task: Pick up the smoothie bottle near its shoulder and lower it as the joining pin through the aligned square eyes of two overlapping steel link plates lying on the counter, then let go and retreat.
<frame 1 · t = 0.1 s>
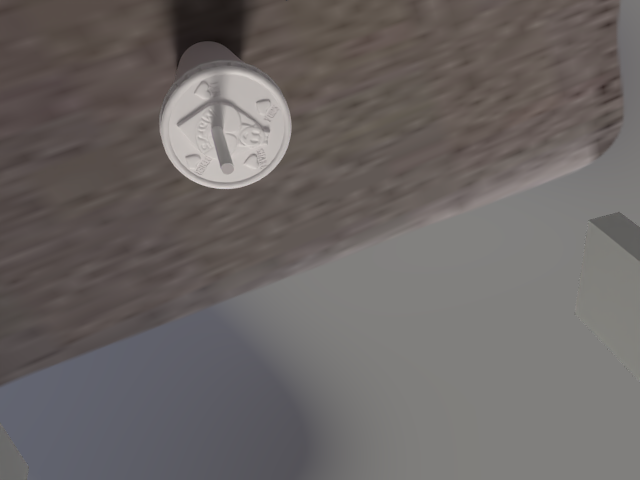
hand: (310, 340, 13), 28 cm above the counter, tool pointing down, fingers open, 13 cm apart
smoothie: (208, 70, 37), on the counter
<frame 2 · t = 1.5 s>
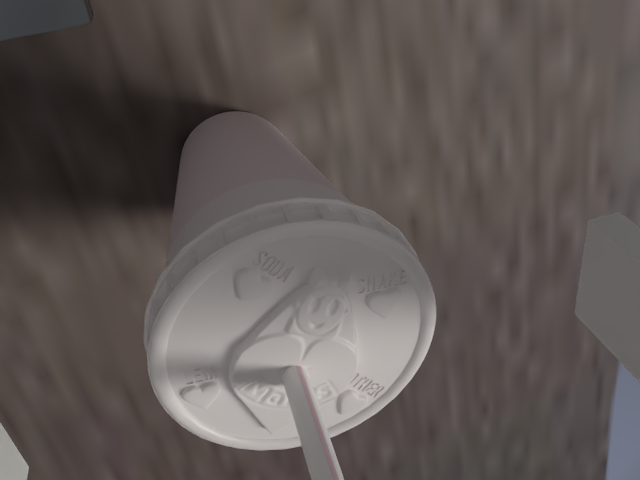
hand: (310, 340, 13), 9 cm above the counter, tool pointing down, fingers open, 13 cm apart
smoothie: (234, 160, 21), on the counter
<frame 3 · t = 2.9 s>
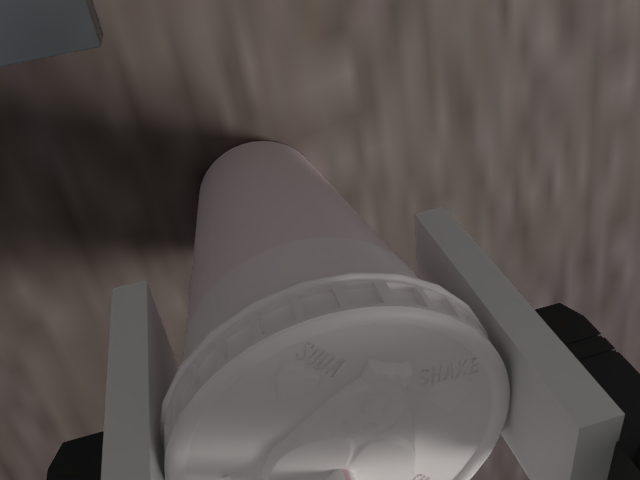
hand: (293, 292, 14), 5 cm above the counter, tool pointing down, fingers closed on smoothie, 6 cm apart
smoothie: (259, 193, 19), on the counter, touching gripper
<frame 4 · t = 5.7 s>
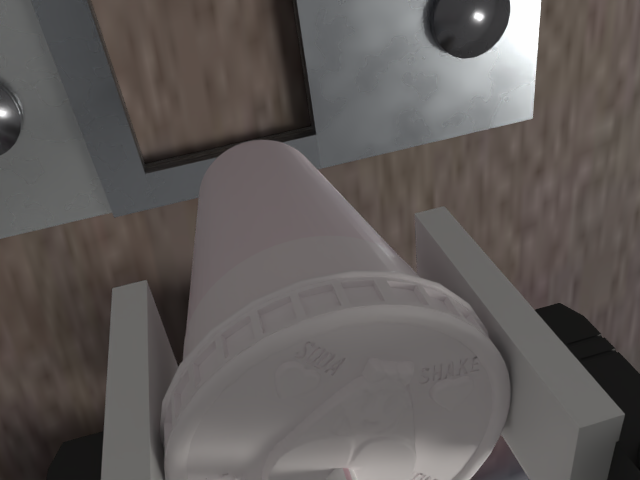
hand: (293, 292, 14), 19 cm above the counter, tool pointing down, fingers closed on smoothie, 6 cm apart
link plate 1: (209, 61, 30), on the counter
link plate 2: (209, 61, 30), resting in link plate 1
smoothie: (259, 192, 19), point 14 cm above the counter, touching gripper
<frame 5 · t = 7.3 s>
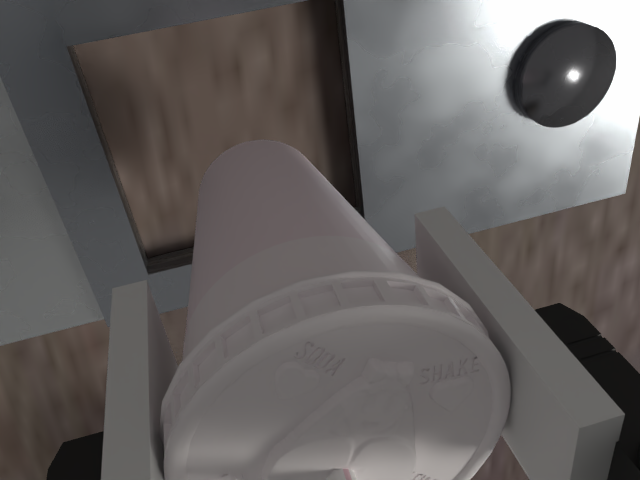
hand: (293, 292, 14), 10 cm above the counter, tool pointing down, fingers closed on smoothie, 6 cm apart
link plate 1: (232, 133, 23), on the counter
link plate 2: (232, 133, 23), resting in link plate 1
smoothie: (258, 192, 19), point 5 cm above the counter, touching gripper
when the fingers open (7 cm above the counter, at t = 8.7 s): smoothie drops 2 cm, resting in link plate 2.
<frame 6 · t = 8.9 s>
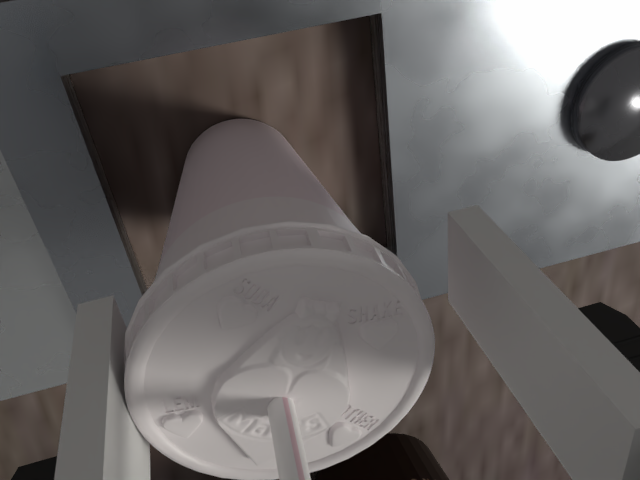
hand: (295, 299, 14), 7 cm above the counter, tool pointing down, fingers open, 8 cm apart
link plate 1: (250, 169, 20), on the counter
link plate 2: (250, 169, 20), resting in link plate 1
smoothie: (240, 168, 20), resting in link plate 2, touching gripper
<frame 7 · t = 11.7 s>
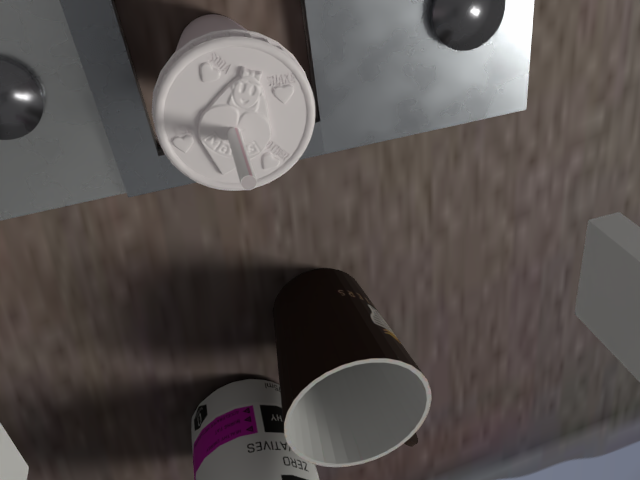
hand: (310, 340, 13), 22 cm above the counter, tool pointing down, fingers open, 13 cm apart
link plate 1: (221, 50, 31), on the counter
supplement can: (244, 410, 46), on the counter
link plate 2: (221, 50, 31), resting in link plate 1
coffee mug: (322, 319, 43), on the counter
smoothie: (214, 50, 32), resting in link plate 2
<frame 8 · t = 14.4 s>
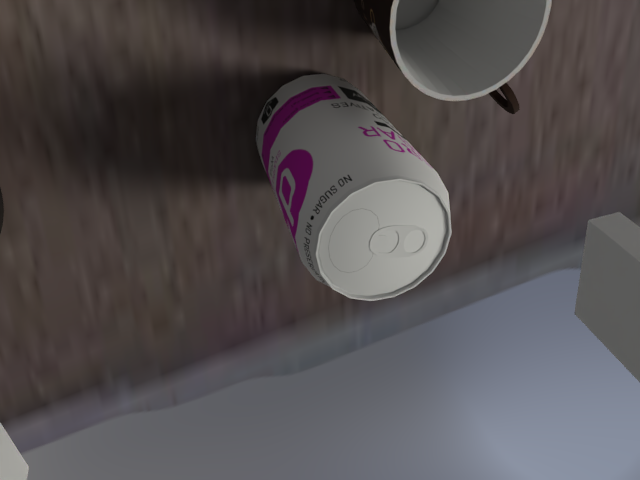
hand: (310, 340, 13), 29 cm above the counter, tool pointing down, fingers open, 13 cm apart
supplement can: (312, 128, 42), on the counter
coffee mug: (402, 5, 39), on the counter
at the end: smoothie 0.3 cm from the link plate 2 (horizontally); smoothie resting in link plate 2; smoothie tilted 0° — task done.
